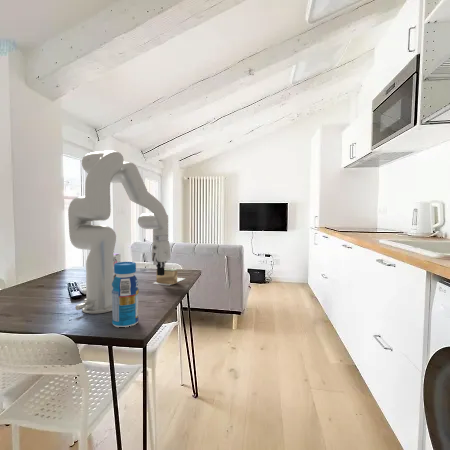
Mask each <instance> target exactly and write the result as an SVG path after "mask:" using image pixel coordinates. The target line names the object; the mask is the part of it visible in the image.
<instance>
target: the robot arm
mask: <svg viewBox="0 0 450 450" xmlns="http://www.w3.org/2000/svg"><path fill="white" fill-rule="evenodd" d="M81 165H82V166H81V167H82V168H83V170H84V171H85V173H87V174H86V178H85V183H84V185H85V186H84V187H85V188H84V195H83V196H82V195H81V196H77V197H74V198H72V200H71V201H70V203H69V206H68V210H67V211H68V216H67V217H68V234H69V240H70V244H71V245H72V246H73V247H74V248H76V249H79V250H87V251H89V253H88V256H87V258H86V261H85V279H86V281H85V282H86V285H85V286H86V298H84V299H83V301H84V302H82V303H79V304H76V305H75V307H74V308H75V310H76V311H81V312H83V313H85V314H92V315H93V314H94V315H95V314H96V315H97V314H104V313H109V312H112V290H113V287H112V282H113V280H114V270H113V257H114V254H115V247H116V243H117V234H116V232H115V230H114V229H113V228H112V227H111V226H108V225H105V224H92V222H103V221H104V222H105V221H106V220H108V219H109V218H110V216H111V211H112V209H111V207H112V206H111V205H112V204H111V184H114V183H115V184H117V183H121V184H122V186H123V188H124V191H125V193H126V195H127V196H128V198H129V200H130V201H131V202H133V203H134V204H136V205H139V206H142V207H143V208H146V209H148V210H149V211H150V212H146V213H141V214H140V215H139V217H138V219H137V224H138V226H139V227H140V228H142V229H145V230H152V244H151V245H152V246H151V261H152V262H153V263H152V264H153V265H155V266H156V276H157V275H161V276H163V275H164V268H166V263H167V262H169V260H171V245H170V241H169V215H168V214H167V211H166V208H165V206H164V205H163V204H162V202H161V201H160V200H158V198H156V197H155V196H154V195H153V194H151V193H150V192H149V191H148V189H147V186H146V184H145V182H144V180H143V178H142V175H141V173H140V170H139V167H137V166H136V164H135V163H134V162H131V161H125V158H124V156H123V154H122V153H121V152H119V151H116V150H104V151H94V152H90V153H89V152H88V153H86V154H85V155H83V157H82V159H81Z"/></svg>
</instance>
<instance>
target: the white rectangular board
mask: <svg viewBox="0 0 450 450" xmlns="http://www.w3.org/2000/svg"><path fill="white" fill-rule="evenodd" d="M184 280H186V278H185V277H184V278H183V277H177V283H179V282H182V281H184ZM152 284H153V285H161V286H172V285H173V284H165V283H157V281H155V282H152Z"/></svg>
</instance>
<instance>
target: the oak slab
mask: <svg viewBox="0 0 450 450" xmlns="http://www.w3.org/2000/svg"><path fill="white" fill-rule="evenodd" d="M177 278H178V268H168V267H164V275H163V276H161V275H157V274H156V282H157V283H165V284H172V285H175V284H178V282H177Z"/></svg>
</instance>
